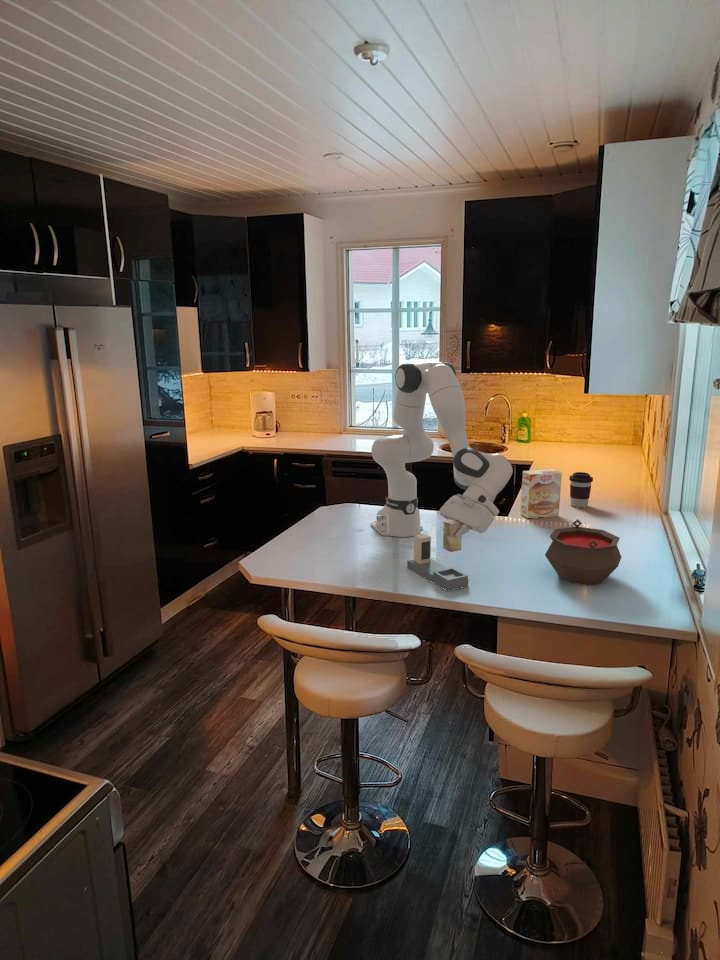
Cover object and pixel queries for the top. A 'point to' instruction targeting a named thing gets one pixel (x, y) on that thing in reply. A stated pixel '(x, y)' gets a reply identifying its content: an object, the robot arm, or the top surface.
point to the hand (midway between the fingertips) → (450, 534)
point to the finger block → (451, 535)
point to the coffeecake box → (540, 493)
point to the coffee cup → (580, 489)
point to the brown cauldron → (583, 554)
